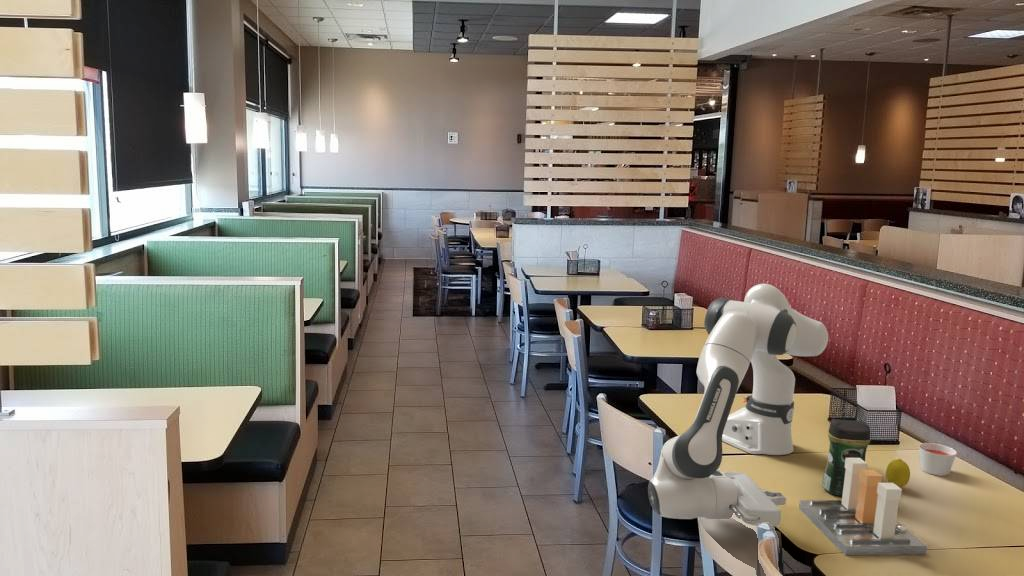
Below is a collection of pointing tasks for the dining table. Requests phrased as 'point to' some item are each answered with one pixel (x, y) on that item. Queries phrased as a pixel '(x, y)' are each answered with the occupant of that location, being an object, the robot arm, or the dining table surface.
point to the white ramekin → (936, 458)
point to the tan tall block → (867, 495)
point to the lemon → (898, 473)
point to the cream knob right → (886, 510)
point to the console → (858, 531)
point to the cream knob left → (852, 481)
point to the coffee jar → (844, 451)
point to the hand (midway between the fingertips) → (783, 498)
